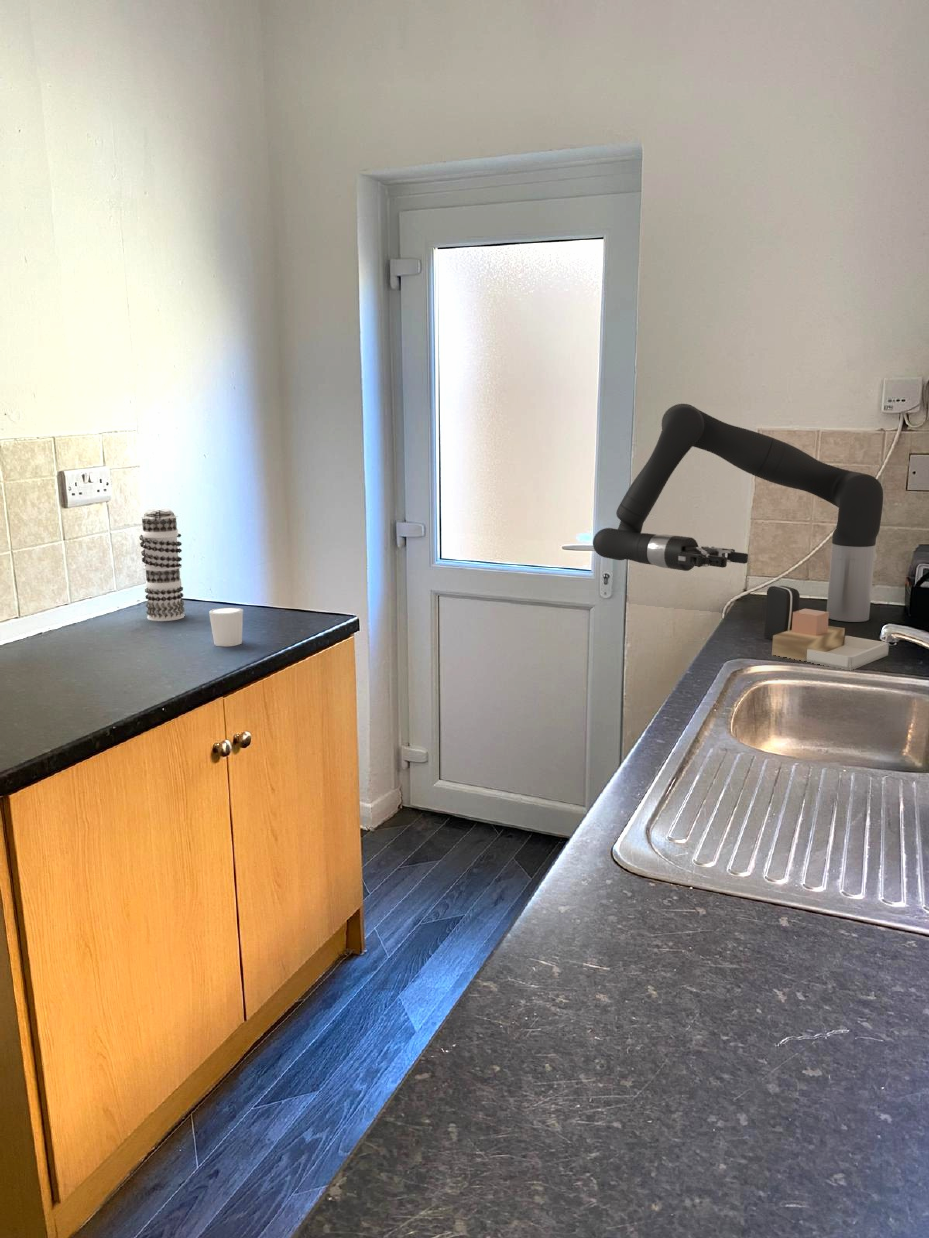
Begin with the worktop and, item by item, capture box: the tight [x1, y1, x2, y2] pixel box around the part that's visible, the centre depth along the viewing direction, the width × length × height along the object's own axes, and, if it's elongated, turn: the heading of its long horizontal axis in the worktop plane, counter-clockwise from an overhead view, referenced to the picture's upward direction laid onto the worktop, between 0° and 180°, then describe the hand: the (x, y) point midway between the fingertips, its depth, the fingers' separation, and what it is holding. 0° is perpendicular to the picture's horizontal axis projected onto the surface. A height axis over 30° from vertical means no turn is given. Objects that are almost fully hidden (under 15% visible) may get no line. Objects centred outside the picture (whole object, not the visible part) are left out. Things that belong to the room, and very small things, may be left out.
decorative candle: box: [138, 508, 185, 622], centre depth 221 cm, size 9×9×25 cm
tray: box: [806, 635, 890, 672], centre depth 185 cm, size 17×9×2 cm, turn 134°
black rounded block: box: [763, 585, 801, 641], centre depth 199 cm, size 7×4×11 cm, turn 22°
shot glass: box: [208, 607, 244, 647], centre depth 198 cm, size 7×7×7 cm
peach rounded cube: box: [792, 608, 830, 636], centre depth 190 cm, size 5×5×4 cm
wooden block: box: [771, 625, 846, 662], centre depth 191 cm, size 16×7×4 cm, turn 134°
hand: (736, 560), depth 205 cm, fingers open, 8 cm apart
